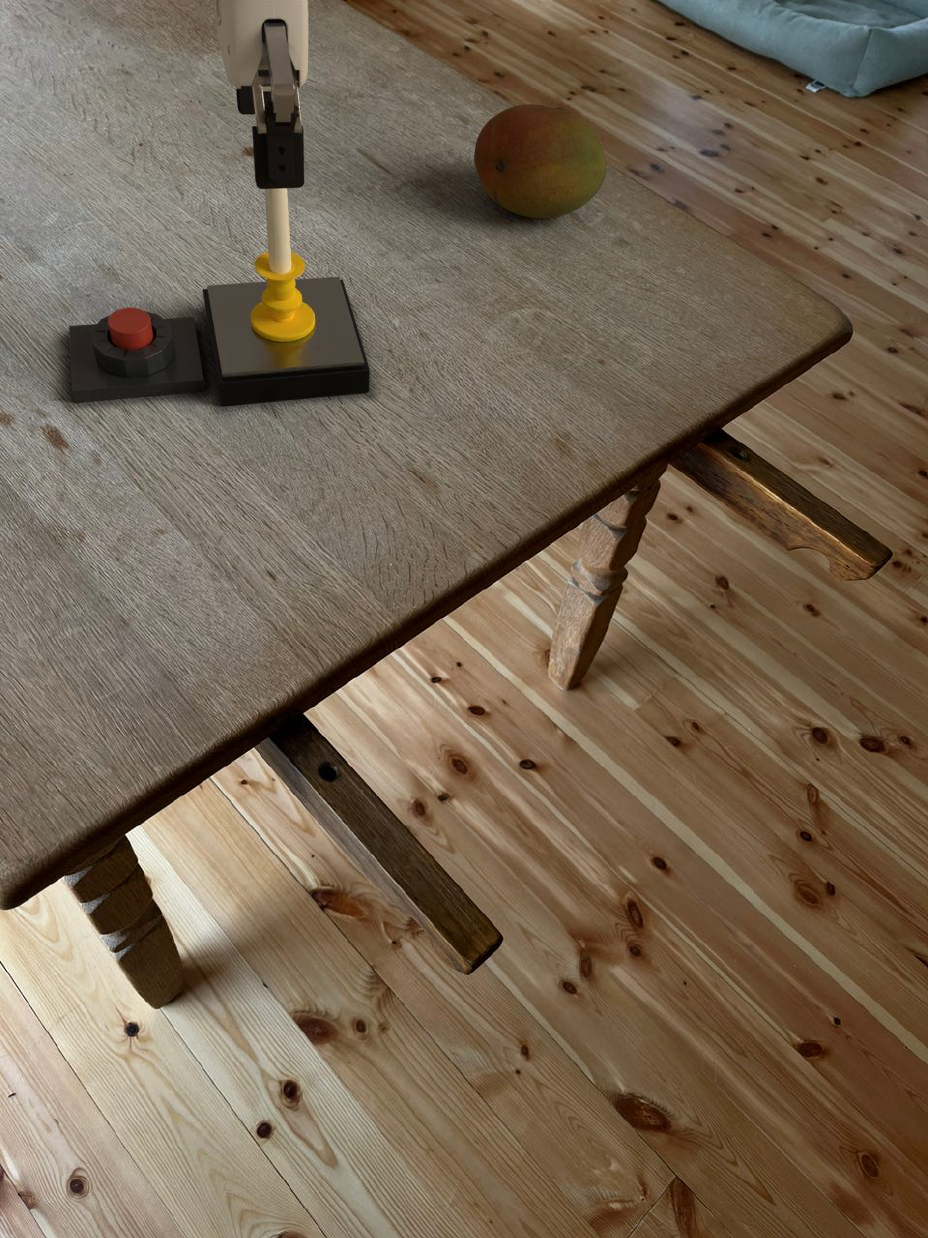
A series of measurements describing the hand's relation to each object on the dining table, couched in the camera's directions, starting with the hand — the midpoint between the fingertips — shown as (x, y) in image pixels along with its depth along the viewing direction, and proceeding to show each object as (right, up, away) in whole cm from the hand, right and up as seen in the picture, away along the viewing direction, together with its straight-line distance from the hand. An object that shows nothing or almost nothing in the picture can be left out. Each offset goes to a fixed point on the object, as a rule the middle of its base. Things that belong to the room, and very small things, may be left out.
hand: (269, 147), depth 70 cm
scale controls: (-13, -12, +12) cm, 21 cm away
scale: (-2, -10, +15) cm, 18 cm away
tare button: (-13, -11, +10) cm, 19 cm away
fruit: (+21, +9, +32) cm, 39 cm away
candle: (-1, -9, +12) cm, 15 cm away
